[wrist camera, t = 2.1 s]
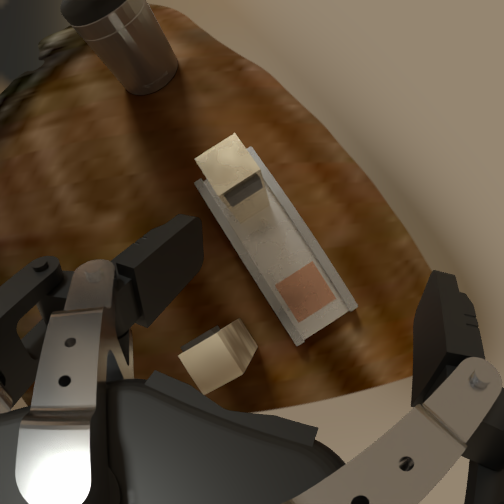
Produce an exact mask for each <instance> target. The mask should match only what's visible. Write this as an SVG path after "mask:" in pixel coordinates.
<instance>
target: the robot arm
mask: <svg viewBox="0 0 504 504" xmlns="http://www.w3.org/2000/svg"><path fill="white" fill-rule="evenodd" d="M61 13H62V15H63V16H64V18H65V19H66V20H67V21H68V22H69V23H70V24H71V25H72V27H73V28H74V29H75V30H76V31H77V32H78V34H79V35H80V36H81V37H82V38H83V39H84V40H85V42H86V43H87V44H88V45H89V46H90V47H91V49H92V50H93V51H94V52H95V53H96V54H97V56H98V57H99V58H100V59H101V60H102V61H103V63H104V64H105V65H106V66H107V67H108V68H109V70H110V71H111V72H112V73H113V74H114V75H115V77H116V78H117V79H118V80H119V81H120V83H121V84H122V85H123V86H124V87H125V88H126V90H127V91H129V92H130V93H132V94H135V95H146V94H150V93H153V92H155V91H157V90H159V89H161V88H162V87H163V86H165V85H166V84H167V83H168V82H169V81H170V80H171V79H172V78H173V76H174V75H175V73H176V71H177V67H178V61H177V58H176V56H175V54H174V52H173V50H172V48H171V46H170V44H169V42H168V40H167V38H166V37H165V35H164V33H163V31H162V29H161V27H160V25H159V24H158V22H157V20H156V18H155V16H154V14H153V12H152V11H151V9H150V7H149V5H148V3H147V2H146V0H63V1H62V3H61ZM203 257H204V254H203V236H202V222H201V220H200V218H198V217H193V216H188V215H183V214H178V215H177V216H175V217H174V218H173V219H171V220H170V221H169V222H167V223H166V224H164V225H162V226H159V227H157V228H154V229H152V230H151V231H149V232H148V233H147V234H145V235H144V236H143V238H140V239H139V240H137V241H136V242H135V244H134V243H133V244H132V245H131V246H129V247H128V248H127V249H126V250H124V251H123V252H122V253H120V254H119V255H118V256H117V257H115V258H114V259H113V260H111V261H107V260H93V261H89V262H87V263H85V264H83V265H81V266H80V267H78V268H77V269H76V271H75V272H73V271H62V269H61V266H60V263H59V260H58V259H57V258H56V257H54V256H44V257H40V258H38V259H35V260H34V261H32V262H31V263H29V264H28V265H27V266H25V267H24V268H23V269H22V270H20V271H19V272H18V273H17V274H15V275H14V276H13V277H12V278H10V279H9V280H8V281H7V282H5V283H4V284H3V285H2V286H1V287H0V504H418V503H419V502H420V501H421V500H422V499H423V498H424V497H425V496H426V495H427V494H428V493H429V492H430V491H431V490H432V489H433V488H434V486H436V484H437V483H438V482H439V481H440V480H441V479H442V478H443V477H444V475H445V474H446V473H447V472H448V471H449V470H450V468H451V467H452V466H453V465H454V464H455V462H456V461H457V460H458V459H459V457H460V456H463V457H465V458H467V459H470V462H469V472H468V481H467V489H466V496H465V503H464V504H504V388H503V387H502V380H501V376H500V374H499V372H498V371H497V369H496V368H495V367H494V366H493V365H492V364H491V363H489V362H488V361H486V360H485V356H484V351H483V345H482V340H481V336H480V331H479V328H478V322H477V319H476V314H475V310H474V306H473V304H472V302H471V301H470V300H469V298H468V297H467V295H466V294H465V293H461V292H459V289H458V285H457V281H456V277H455V275H452V274H448V273H444V272H440V271H436V270H433V271H432V273H431V275H430V277H429V280H428V283H427V285H426V288H425V290H424V293H423V295H422V298H421V300H420V303H419V305H418V308H417V310H416V314H415V318H414V325H413V381H412V400H411V407H414V408H413V409H412V410H411V411H410V412H409V413H408V414H407V415H405V416H404V417H403V418H402V419H401V420H400V421H399V422H398V423H397V424H396V425H394V426H393V427H392V428H391V429H390V430H388V431H387V432H386V433H385V434H384V435H383V436H381V437H380V438H379V439H378V440H377V441H375V442H374V443H373V444H372V445H370V446H369V447H368V448H366V449H365V450H364V451H363V452H361V453H360V454H359V455H357V456H356V457H355V458H353V459H352V460H351V461H349V462H348V463H347V464H345V463H344V461H343V460H342V459H341V458H340V457H339V456H338V455H337V454H336V453H335V452H333V451H332V450H331V449H330V448H328V447H327V446H325V445H324V444H322V443H321V442H319V441H317V440H315V437H316V434H317V431H318V428H317V427H313V426H309V425H306V424H302V423H299V422H295V421H291V420H288V419H285V418H281V417H278V416H274V415H263V414H253V413H244V412H236V411H229V410H226V409H224V408H222V407H220V406H219V405H217V404H216V403H214V402H213V401H212V400H210V399H209V398H207V397H206V396H204V395H203V394H202V393H200V392H199V391H197V390H196V389H195V388H193V387H192V386H190V385H188V384H186V383H183V382H181V381H179V380H176V379H174V378H172V377H169V376H167V375H165V374H162V373H160V372H158V371H156V370H155V371H154V372H153V374H152V375H151V376H150V377H149V379H148V380H145V379H134V375H133V340H132V330H131V326H132V325H133V324H134V323H137V324H139V325H142V326H144V327H146V328H148V327H149V326H150V325H151V324H152V323H153V321H154V320H155V319H156V318H157V317H158V316H159V315H160V314H161V313H162V311H163V310H164V309H165V308H166V307H167V306H168V305H169V304H170V303H171V301H172V300H173V299H174V298H175V297H176V296H177V295H178V294H179V293H180V292H181V290H182V289H183V288H184V287H185V286H186V285H187V284H188V283H189V282H190V281H191V280H192V278H193V277H194V276H195V275H196V274H197V273H198V272H199V270H200V269H201V266H202V263H203ZM35 305H37V307H38V309H39V312H40V314H41V316H42V318H43V319H42V320H41V321H40V322H39V323H38V324H37V325H36V326H35V327H34V328H33V329H32V330H31V331H30V332H29V333H28V334H27V335H26V336H25V337H24V338H23V339H22V340H20V338H19V336H18V334H17V331H16V327H17V323H18V321H19V320H20V319H21V318H22V317H23V316H24V315H25V314H26V313H27V312H28V311H29V310H30V309H31V308H32V307H33V306H35ZM34 381H35V386H34V391H33V397H32V404H31V406H28V407H24V408H21V409H17V410H13V411H11V408H12V407H13V406H14V405H15V404H16V402H17V401H18V400H19V399H20V398H21V396H22V395H23V394H24V393H25V392H26V390H27V389H28V388H29V387H30V386H31V385H32V383H33V382H34Z"/></svg>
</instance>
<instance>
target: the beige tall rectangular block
mask: <svg viewBox="0 0 504 504" xmlns="http://www.w3.org/2000/svg"><path fill="white" fill-rule="evenodd" d="M257 347H258V346H257V344H256V343H255V341H254V340H253V338H252V336H251V335H250V333H249V332H248V330H247V329H246V327H245V325H244V324H243V322H242V321H241V319H240V318H239V319H237V320H235V321H234V322H232V323H230V324H229V325H227V326H225V327H224V328H222V329H220V328H219V327H218V325H217V326H216V327H214V328H212V329H210V330H209V331H207V332H205V333H204V334H202V335H200V336H199V337H197V338H195V339H194V340H192V341H190V342H189V343H187V344H185V345H183V346H182V347H180V348H181V349H182V351H183V353H181V354H180V355H178V357H179V358H180V360H181V361H182V363H183V365H184V366H185V368H186V369H187V371H188V373H189V374H190V376H191V377H192V379H193V380H194V382H195V383H196V385H197V386H198V388H199V389H200V391H201V392H202V394H203V395H205V394H207V393H209V392H211V391H213V390H215V389H217V388H218V387H220V386H222V385H224V384H226V383H228V382H230V381H231V380H233V379H235V378H237V377H239V376H241V375H242V374H244V372H245V370H246V368H247V366H248V364H249V363H250V361H251V359H252V357H253V355H254V353H255V351H256V349H257Z"/></svg>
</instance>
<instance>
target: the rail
mask: <svg viewBox="0 0 504 504" xmlns="http://www.w3.org/2000/svg"><path fill="white" fill-rule="evenodd" d="M195 161H196V162H197V164H198V165H199V167H200V169H201V170H202V172H203V173H204V175H205V176H206V178H207V179H206V180H205V181H203V180H202V179H201V178H200V179H199V180H197V181H196V182H195V183H194V184H195V186H196V187H197V189H198V190H199V192H200V194H201V195H202V197H203V199H204V200H205V202H206V203H207V205H208V207H209V208H210V210H211V211H212V213H213V215H214V216H215V218H216V220H217V221H218V223H219V224H220V226H221V228H222V229H223V231H224V232H225V234H226V236H227V237H228V239H229V240H230V242H231V244H232V245H233V247H234V248H235V250H236V252H237V253H238V255H239V256H240V258H241V259H242V261H243V263H244V264H245V266H246V267H247V269H248V271H249V272H250V274H251V275H252V277H253V279H254V280H255V282H256V283H257V285H258V286H259V288H260V290H261V291H262V293H263V294H264V296H265V298H266V299H267V301H268V302H269V304H270V305H271V307H272V309H273V310H274V312H275V313H276V315H277V316H278V318H279V320H280V321H281V323H282V324H283V326H284V327H285V329H286V330H287V332H288V334H289V335H290V337H291V338H292V340H293V341H294V343H295V345H296V346H299V345H300V344H302V343H303V342H305V341H304V340H305V339H306V338H308V337H310V336H311V335H313V334H314V333H316V332H317V331H319V330H321V329H322V328H324V327H325V326H327V325H328V324H330V323H331V322H333V321H334V320H336V319H337V318H339V317H340V316H342V315H343V314H345V313H346V312H348V311H353V310H354V309H356V308H357V307H358V305H357V303H356V302H355V300H354V298H353V297H352V295H351V294H350V292H349V290H348V289H347V287H346V286H345V284H344V282H343V281H342V279H341V278H340V276H339V274H338V273H337V271H336V270H335V268H334V267H333V265H332V264H331V262H330V260H329V259H328V257H327V256H326V254H325V253H324V251H323V250H322V248H321V247H320V245H319V243H318V242H317V240H316V239H315V237H314V236H313V234H312V233H311V231H310V230H309V228H308V227H307V225H306V224H305V222H304V221H303V219H302V218H301V217H300V215H299V214H298V212H297V211H296V209H295V208H294V206H293V205H292V203H291V202H290V200H289V199H288V197H287V196H286V195H285V193H284V192H283V190H282V189H281V187H280V186H279V185H278V183H277V182H276V180H275V179H274V177H273V176H272V175H271V173H270V172H269V170H268V169H267V168H266V166H265V165H264V163H263V162H262V161H261V159H260V158H259V156H258V155H257V154H256V152H255V151H254V150H253V148H252V147H249V148H247V149H246V148H245V147H244V145H243V144H242V142H241V141H240V140H239V138H238V137H237V136H236V134H235V133H234V134H233V135H231V136H229V137H228V138H226V139H225V140H223V141H221V142H220V143H218V144H217V145H215V146H214V147H212V148H210V149H209V150H207V151H206V152H204V153H203V154H201V155H200V156H198V157H197V158H195Z"/></svg>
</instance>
